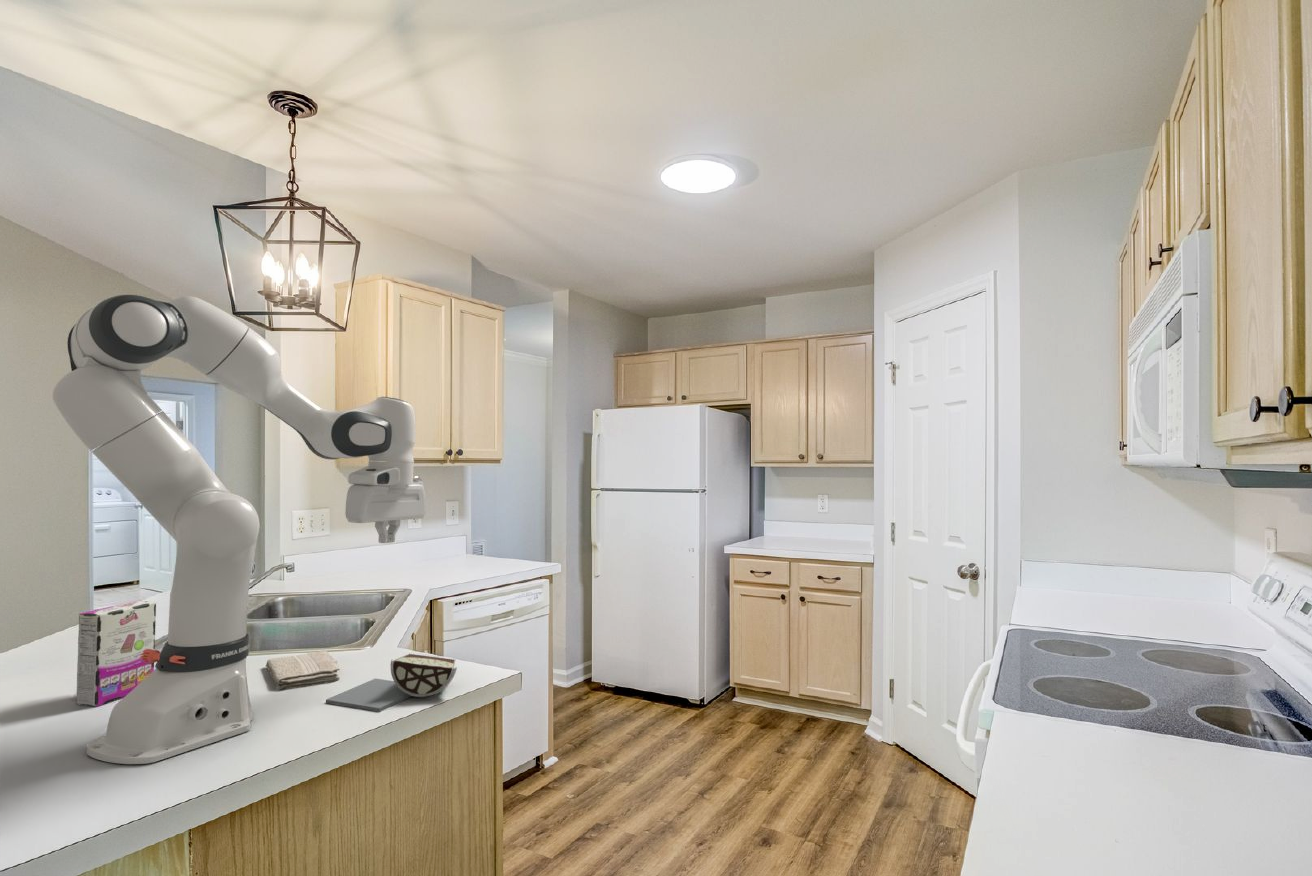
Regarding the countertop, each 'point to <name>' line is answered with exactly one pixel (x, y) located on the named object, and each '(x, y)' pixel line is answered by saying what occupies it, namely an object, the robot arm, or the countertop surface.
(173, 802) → the countertop surface
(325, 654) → the washcloth
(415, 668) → the food container
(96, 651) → the candy bar box
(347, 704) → the mat
